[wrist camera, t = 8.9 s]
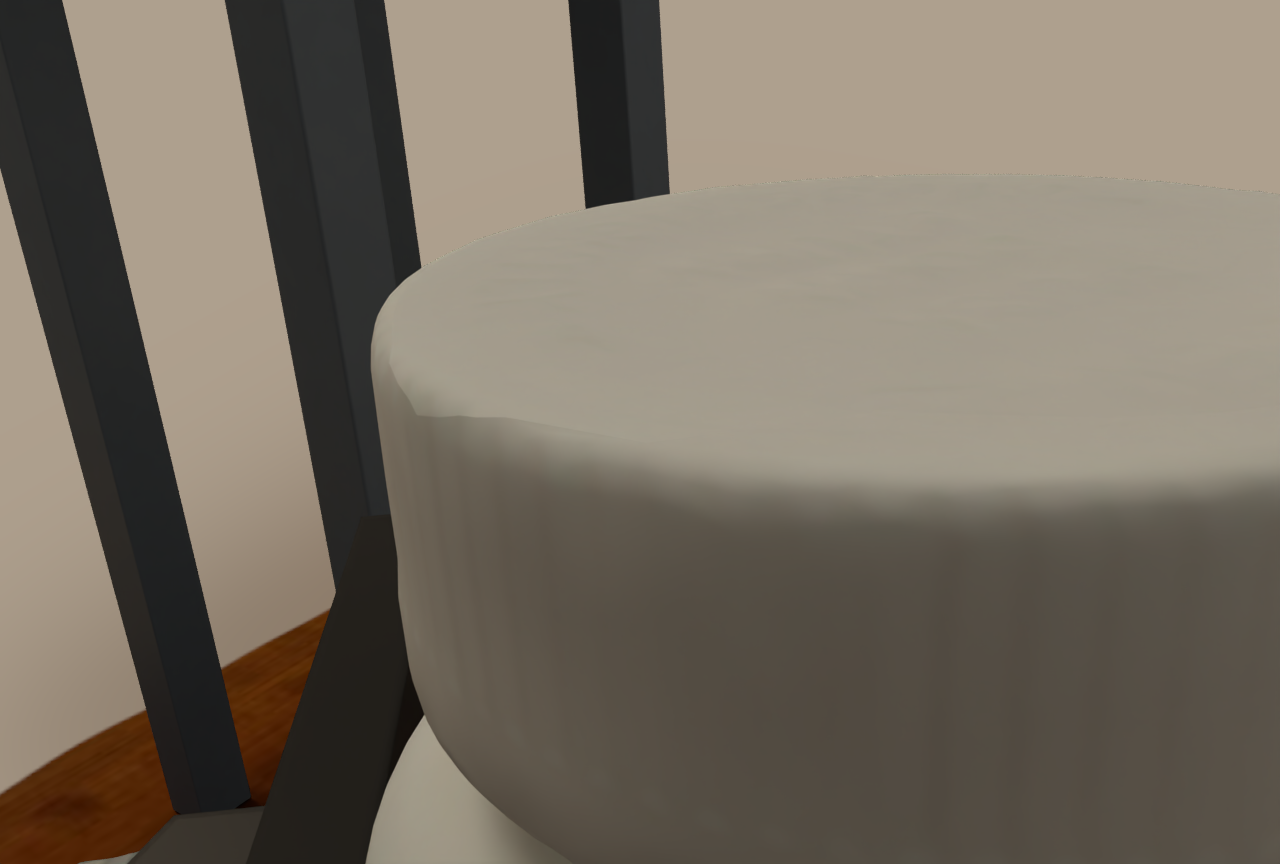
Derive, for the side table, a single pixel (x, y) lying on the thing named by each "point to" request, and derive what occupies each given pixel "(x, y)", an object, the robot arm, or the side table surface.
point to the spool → (113, 860)
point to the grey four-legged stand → (308, 283)
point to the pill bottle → (842, 528)
